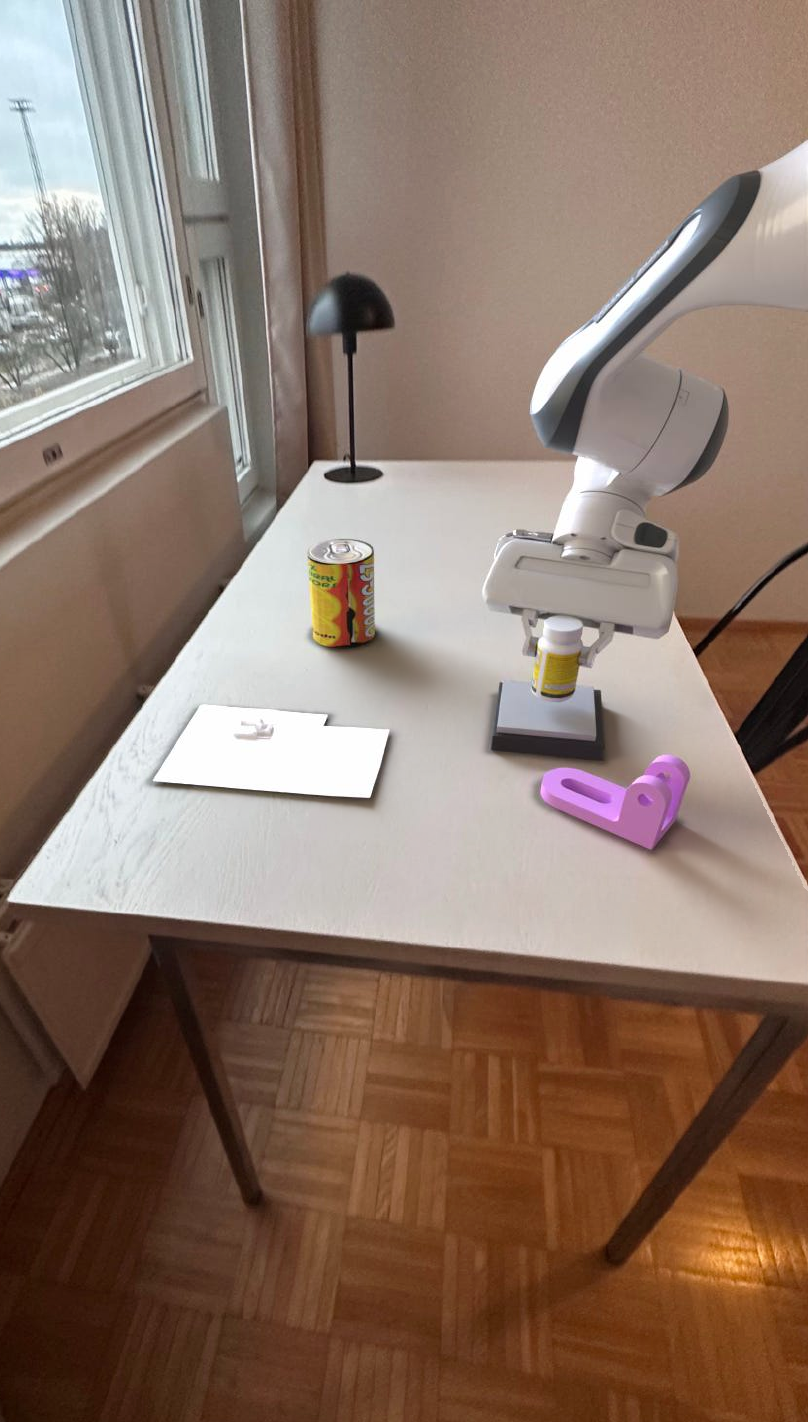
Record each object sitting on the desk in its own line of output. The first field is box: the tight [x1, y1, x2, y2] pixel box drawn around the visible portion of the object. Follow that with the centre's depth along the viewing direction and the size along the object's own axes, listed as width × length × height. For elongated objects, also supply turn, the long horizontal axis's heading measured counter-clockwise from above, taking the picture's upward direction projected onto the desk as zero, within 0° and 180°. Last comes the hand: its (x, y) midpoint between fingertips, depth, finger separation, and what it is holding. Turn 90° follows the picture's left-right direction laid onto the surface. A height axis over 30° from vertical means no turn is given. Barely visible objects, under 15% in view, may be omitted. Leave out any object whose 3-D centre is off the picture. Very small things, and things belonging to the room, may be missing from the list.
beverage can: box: [306, 538, 376, 649], centre depth 102 cm, size 9×9×12 cm
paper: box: [152, 704, 390, 799], centre depth 84 cm, size 25×17×1 cm
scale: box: [490, 679, 606, 761], centre depth 85 cm, size 12×12×3 cm
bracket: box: [539, 754, 691, 851], centre depth 72 cm, size 13×6×7 cm, turn 49°
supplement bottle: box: [531, 615, 584, 702], centre depth 80 cm, size 5×5×8 cm
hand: (556, 660), depth 80 cm, fingers closed on supplement bottle, 5 cm apart
